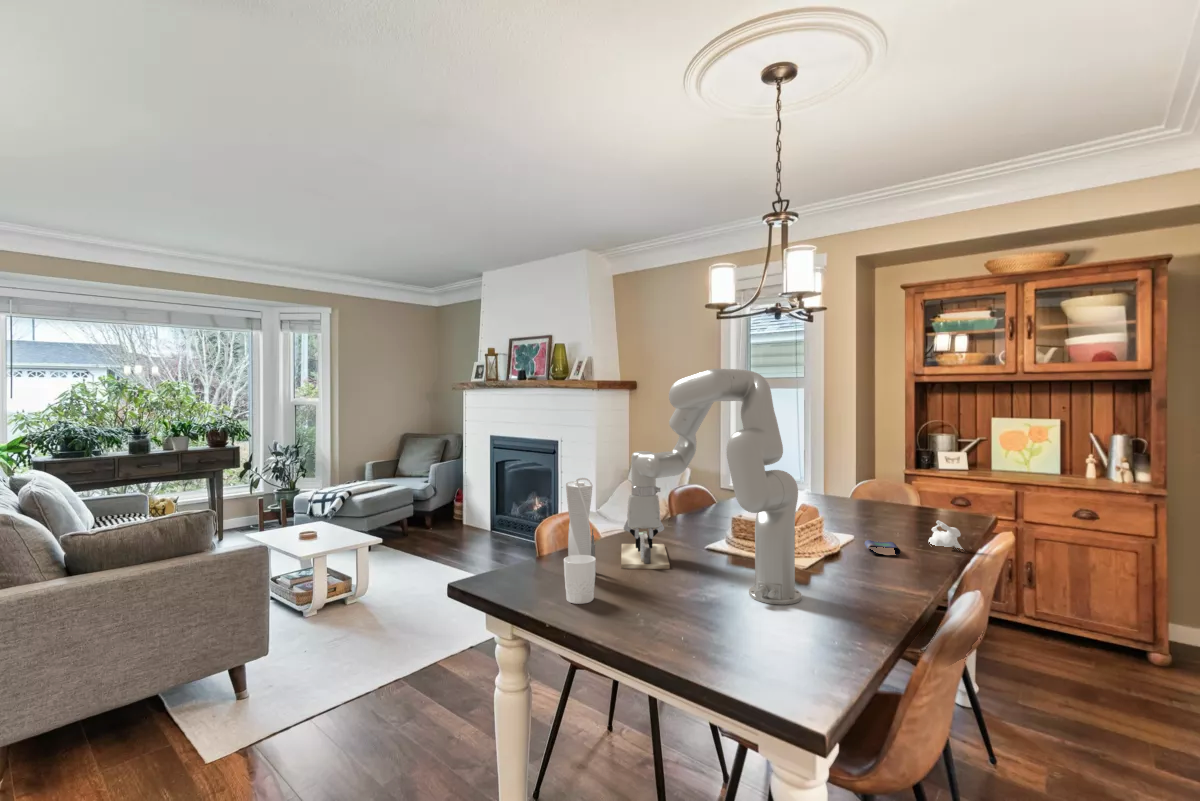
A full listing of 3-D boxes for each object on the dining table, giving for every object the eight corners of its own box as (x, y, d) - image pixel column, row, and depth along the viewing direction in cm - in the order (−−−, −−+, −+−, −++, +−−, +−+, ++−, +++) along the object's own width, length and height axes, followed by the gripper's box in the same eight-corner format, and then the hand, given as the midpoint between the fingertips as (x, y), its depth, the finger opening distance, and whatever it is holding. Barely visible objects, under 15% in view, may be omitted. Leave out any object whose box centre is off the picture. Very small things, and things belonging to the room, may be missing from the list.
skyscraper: (595, 582, 156) (594, 478, 156) (565, 582, 156) (564, 478, 156) (596, 573, 164) (595, 474, 164) (567, 573, 164) (567, 474, 164)
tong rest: (663, 548, 191) (663, 530, 191) (669, 569, 167) (669, 549, 167) (621, 548, 191) (621, 530, 191) (621, 569, 167) (621, 548, 167)
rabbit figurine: (969, 553, 183) (969, 523, 183) (952, 556, 180) (952, 525, 180) (935, 545, 194) (935, 516, 194) (919, 547, 191) (918, 517, 191)
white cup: (597, 594, 146) (597, 555, 146) (594, 605, 138) (593, 563, 138) (566, 593, 147) (566, 554, 147) (561, 604, 139) (561, 563, 139)
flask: (868, 544, 180) (863, 538, 190) (868, 554, 180) (863, 547, 190) (901, 547, 178) (894, 540, 188) (901, 557, 177) (894, 549, 188)
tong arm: (643, 546, 188) (642, 532, 188) (644, 561, 170) (644, 546, 170) (638, 546, 188) (638, 532, 188) (640, 561, 170) (640, 546, 170)
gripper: (668, 489, 183) (669, 547, 183) (617, 489, 183) (618, 547, 183) (670, 493, 175) (670, 554, 175) (617, 493, 176) (617, 553, 176)
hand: (643, 550), depth 179 cm, fingers closed
